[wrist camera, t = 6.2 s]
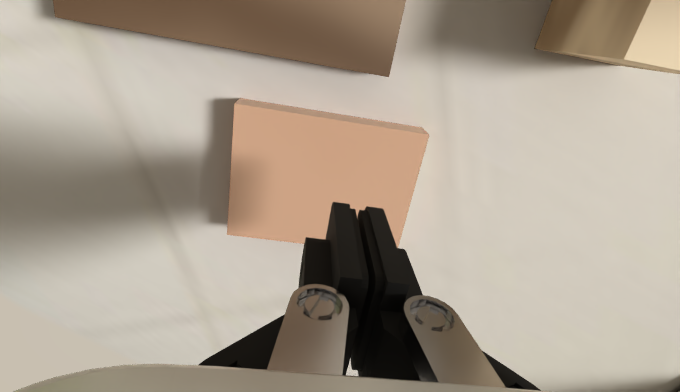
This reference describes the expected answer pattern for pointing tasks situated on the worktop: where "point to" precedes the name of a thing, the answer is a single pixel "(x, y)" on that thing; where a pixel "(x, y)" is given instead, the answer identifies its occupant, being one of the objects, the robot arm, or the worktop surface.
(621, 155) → the worktop surface
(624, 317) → the worktop surface
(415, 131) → the tile
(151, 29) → the board
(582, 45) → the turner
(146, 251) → the worktop surface
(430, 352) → the robot arm
